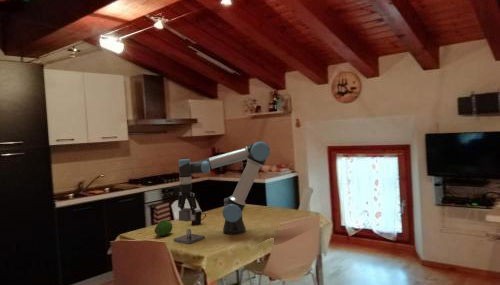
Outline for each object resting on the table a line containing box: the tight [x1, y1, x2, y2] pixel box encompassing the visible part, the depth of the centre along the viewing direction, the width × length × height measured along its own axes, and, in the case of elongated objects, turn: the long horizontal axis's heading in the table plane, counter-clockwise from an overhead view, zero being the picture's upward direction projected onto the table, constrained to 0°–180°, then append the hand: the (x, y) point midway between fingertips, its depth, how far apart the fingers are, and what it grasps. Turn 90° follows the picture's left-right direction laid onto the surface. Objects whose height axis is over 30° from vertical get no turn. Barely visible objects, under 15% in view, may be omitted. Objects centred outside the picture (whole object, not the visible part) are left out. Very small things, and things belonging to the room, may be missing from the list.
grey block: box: [178, 207, 197, 223], centre depth 240 cm, size 8×8×7 cm
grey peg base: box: [172, 228, 206, 245], centre depth 241 cm, size 14×14×6 cm
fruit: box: [154, 219, 173, 236], centre depth 254 cm, size 15×10×10 cm, turn 157°
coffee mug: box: [191, 209, 207, 226], centre depth 280 cm, size 12×9×10 cm
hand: (188, 219), depth 240 cm, fingers closed on grey block, 8 cm apart
